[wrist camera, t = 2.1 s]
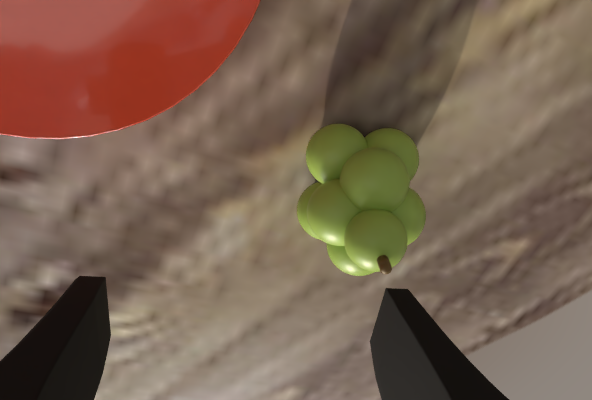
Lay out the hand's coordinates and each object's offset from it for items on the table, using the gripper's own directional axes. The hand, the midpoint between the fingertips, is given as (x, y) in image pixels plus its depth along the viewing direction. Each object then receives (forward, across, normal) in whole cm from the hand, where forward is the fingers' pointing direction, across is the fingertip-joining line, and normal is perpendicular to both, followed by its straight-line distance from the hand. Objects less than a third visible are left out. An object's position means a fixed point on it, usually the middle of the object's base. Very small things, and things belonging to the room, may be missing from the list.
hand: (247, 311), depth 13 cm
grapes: (+9, -4, +1) cm, 10 cm away
